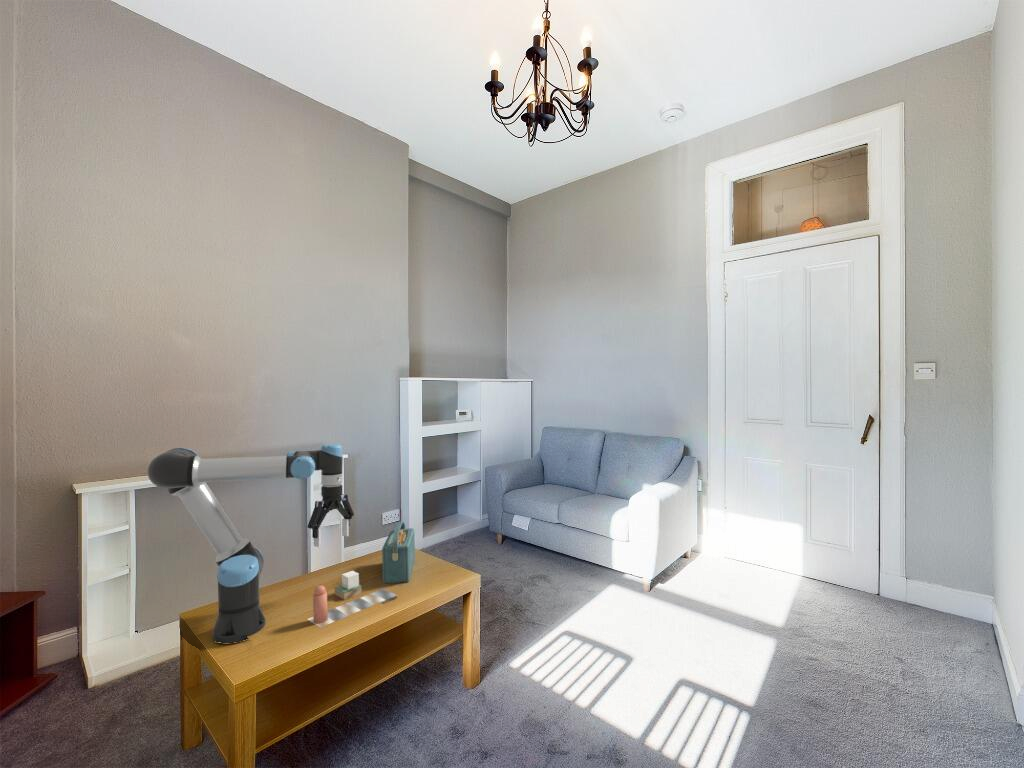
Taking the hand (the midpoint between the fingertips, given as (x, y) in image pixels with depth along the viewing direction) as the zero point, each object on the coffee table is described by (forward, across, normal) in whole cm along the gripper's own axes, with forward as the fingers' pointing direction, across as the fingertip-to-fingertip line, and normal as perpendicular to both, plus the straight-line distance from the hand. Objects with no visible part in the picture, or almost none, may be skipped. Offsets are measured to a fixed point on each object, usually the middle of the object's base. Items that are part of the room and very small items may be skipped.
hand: (331, 541), depth 177 cm
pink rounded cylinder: (+20, -16, -12) cm, 28 cm away
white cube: (+17, +4, -6) cm, 19 cm away
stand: (+21, +3, -6) cm, 22 cm away
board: (+21, -4, -15) cm, 26 cm away
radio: (+21, +30, -8) cm, 38 cm away
